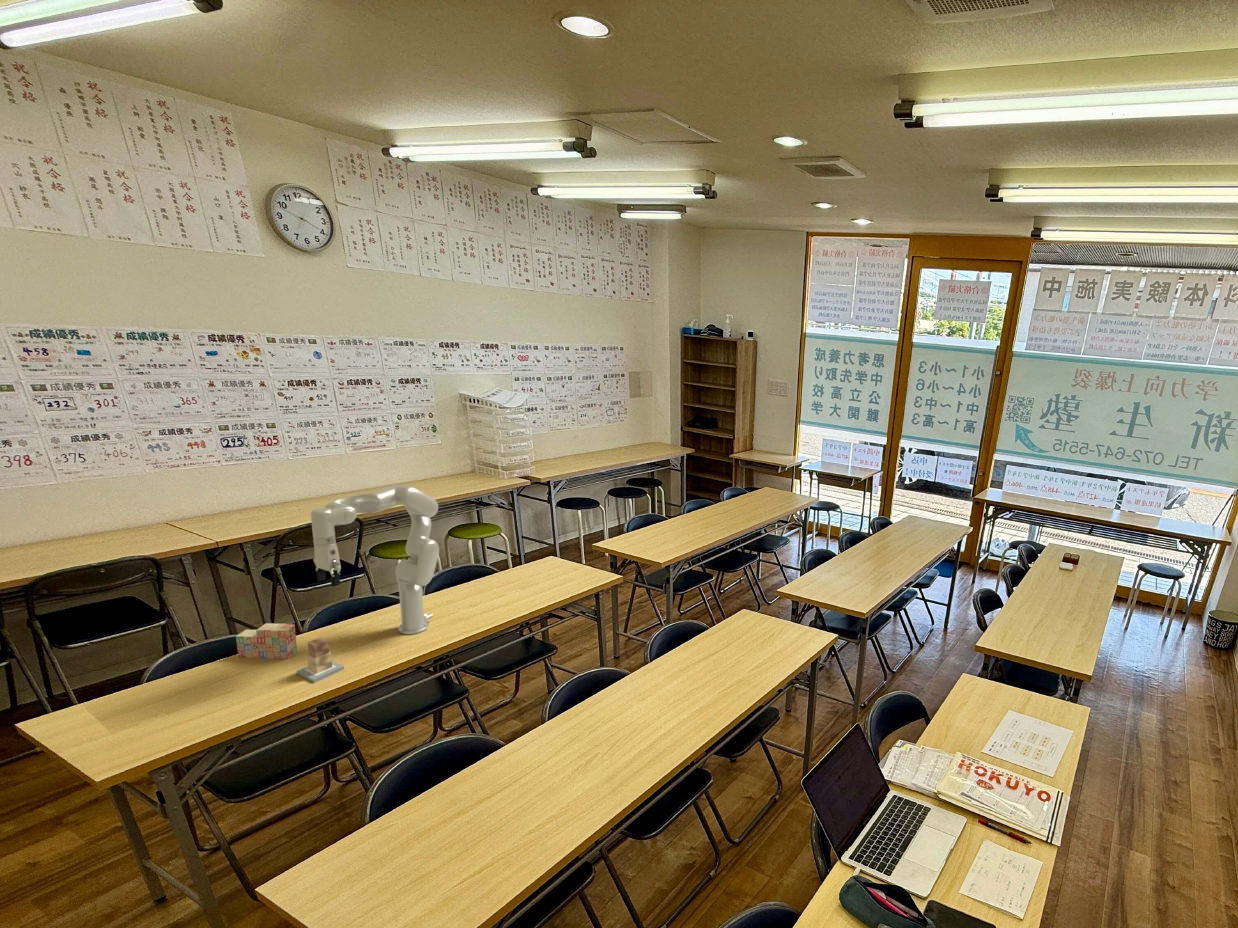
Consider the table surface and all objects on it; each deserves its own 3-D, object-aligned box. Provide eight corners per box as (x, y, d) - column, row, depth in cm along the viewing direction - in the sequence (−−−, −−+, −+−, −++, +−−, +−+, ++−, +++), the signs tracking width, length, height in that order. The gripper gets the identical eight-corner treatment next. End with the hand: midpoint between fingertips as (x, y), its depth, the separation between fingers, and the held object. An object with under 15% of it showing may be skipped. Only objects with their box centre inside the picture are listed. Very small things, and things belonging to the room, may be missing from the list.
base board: (327, 660, 232) (326, 657, 232) (344, 668, 225) (344, 665, 225) (296, 673, 222) (296, 670, 222) (313, 682, 215) (313, 679, 215)
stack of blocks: (237, 657, 235) (234, 629, 233) (248, 650, 241) (245, 622, 239) (288, 659, 233) (285, 630, 231) (297, 651, 239) (294, 623, 237)
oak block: (323, 662, 227) (322, 648, 226) (332, 666, 224) (331, 652, 223) (308, 669, 223) (307, 654, 222) (317, 673, 219) (315, 658, 218)
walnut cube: (321, 649, 226) (320, 637, 225) (328, 652, 223) (327, 640, 222) (309, 654, 222) (307, 642, 221) (316, 658, 219) (314, 645, 218)
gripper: (346, 541, 220) (350, 584, 222) (321, 534, 229) (325, 575, 232) (327, 546, 213) (332, 590, 216) (302, 539, 223) (307, 581, 226)
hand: (328, 582), depth 224 cm, fingers open, 9 cm apart
